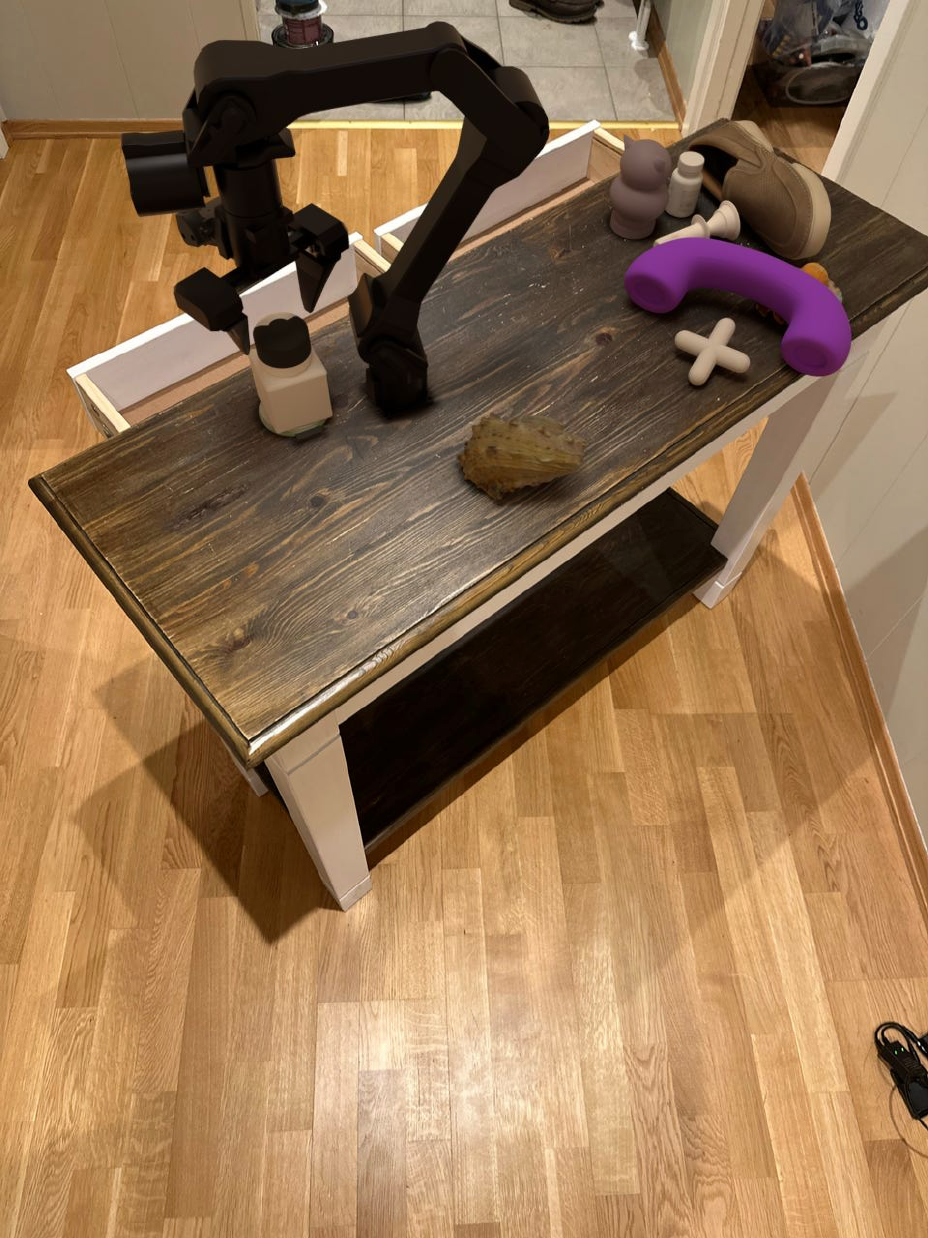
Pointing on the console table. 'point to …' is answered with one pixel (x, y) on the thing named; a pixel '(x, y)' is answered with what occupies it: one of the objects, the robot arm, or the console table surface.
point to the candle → (710, 226)
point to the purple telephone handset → (788, 291)
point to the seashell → (519, 453)
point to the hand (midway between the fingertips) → (277, 331)
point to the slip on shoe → (765, 189)
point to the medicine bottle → (289, 372)
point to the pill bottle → (685, 185)
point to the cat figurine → (639, 188)
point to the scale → (300, 432)
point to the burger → (817, 273)
